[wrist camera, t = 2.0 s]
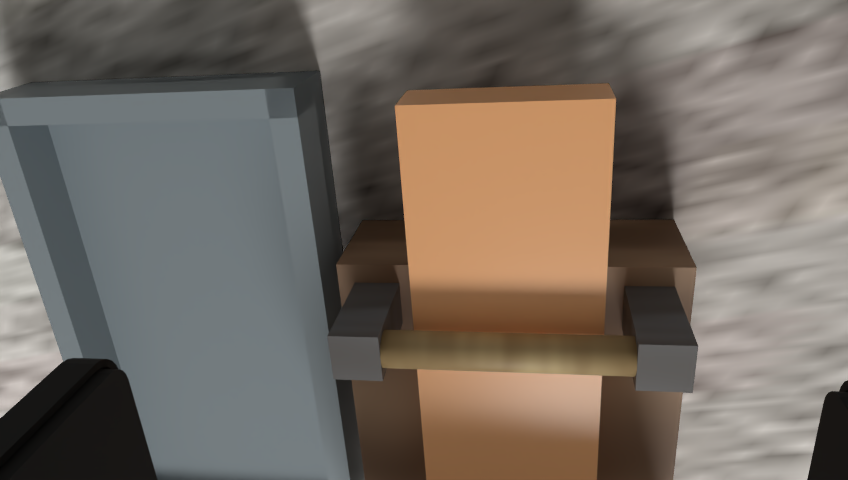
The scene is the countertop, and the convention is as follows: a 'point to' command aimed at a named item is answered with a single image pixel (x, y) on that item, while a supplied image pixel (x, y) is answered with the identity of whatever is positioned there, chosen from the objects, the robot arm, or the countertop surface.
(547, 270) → the orange rectangular block
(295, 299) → the tray
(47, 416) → the robot arm
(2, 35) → the countertop surface
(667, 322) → the dispenser
